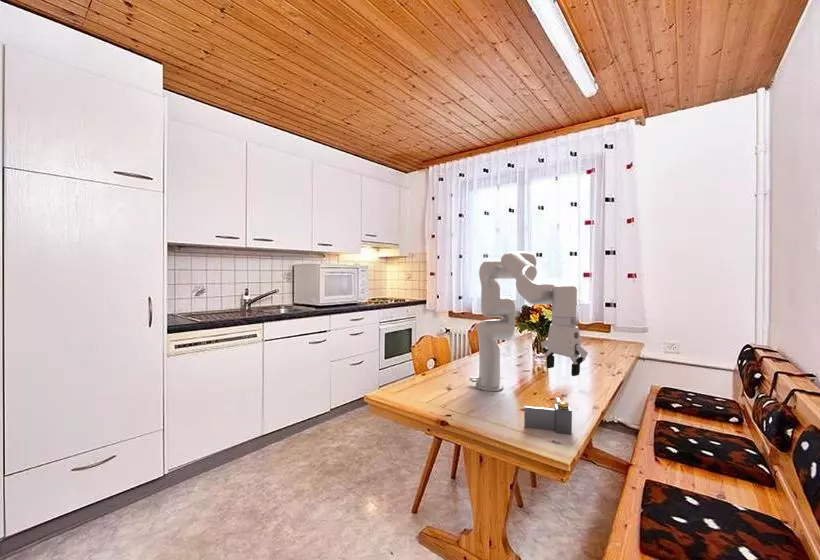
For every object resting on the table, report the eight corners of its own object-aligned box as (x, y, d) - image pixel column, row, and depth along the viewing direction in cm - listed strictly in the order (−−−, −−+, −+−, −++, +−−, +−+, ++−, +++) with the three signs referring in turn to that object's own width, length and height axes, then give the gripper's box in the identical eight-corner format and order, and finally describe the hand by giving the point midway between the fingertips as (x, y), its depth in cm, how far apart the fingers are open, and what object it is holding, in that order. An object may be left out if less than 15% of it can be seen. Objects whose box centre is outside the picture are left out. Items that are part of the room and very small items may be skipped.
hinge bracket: (524, 429, 121) (524, 406, 120) (522, 412, 135) (522, 391, 135) (571, 434, 117) (571, 410, 117) (564, 416, 131) (564, 395, 131)
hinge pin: (558, 432, 119) (558, 404, 118) (556, 428, 122) (557, 400, 122) (569, 433, 118) (569, 405, 117) (567, 429, 121) (567, 401, 121)
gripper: (594, 324, 113) (593, 376, 114) (549, 317, 128) (548, 363, 129) (580, 326, 110) (578, 380, 110) (535, 318, 125) (534, 366, 125)
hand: (562, 371), depth 120 cm, fingers open, 9 cm apart
